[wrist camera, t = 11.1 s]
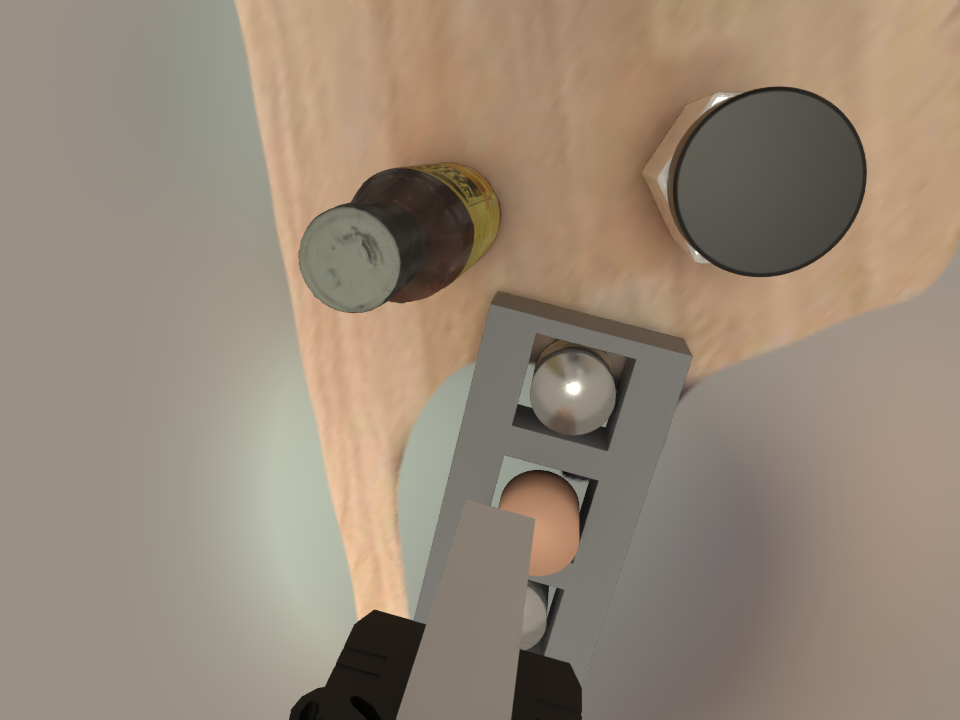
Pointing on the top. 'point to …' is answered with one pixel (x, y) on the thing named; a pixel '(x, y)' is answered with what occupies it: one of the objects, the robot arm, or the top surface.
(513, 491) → the middle knob
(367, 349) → the top surface
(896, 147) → the top surface
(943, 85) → the top surface
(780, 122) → the jar
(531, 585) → the knob
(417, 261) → the sauce bottle
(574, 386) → the knob
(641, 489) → the knob mount
